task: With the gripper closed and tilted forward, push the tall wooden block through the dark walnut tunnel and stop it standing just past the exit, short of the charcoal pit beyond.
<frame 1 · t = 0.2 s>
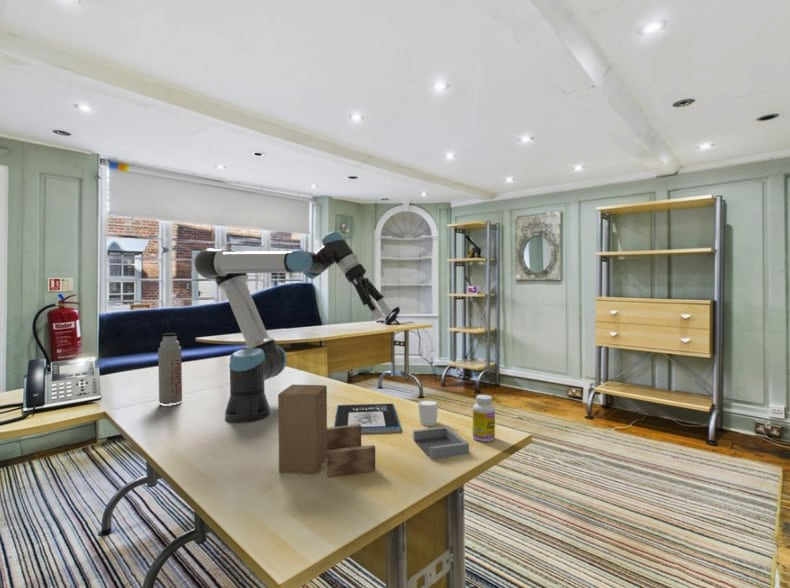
hand: (384, 315, 149), 36 cm above the table, tool tilted 35°, fingers open, 13 cm apart
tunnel: (345, 459, 110), on the table
white cup: (428, 423, 139), on the table
sketchbook: (366, 420, 144), on the table
wooden block: (304, 465, 107), on the table
thermos bottle: (170, 404, 162), on the table
pit: (437, 447, 118), on the table
supplement bottle: (483, 439, 125), on the table
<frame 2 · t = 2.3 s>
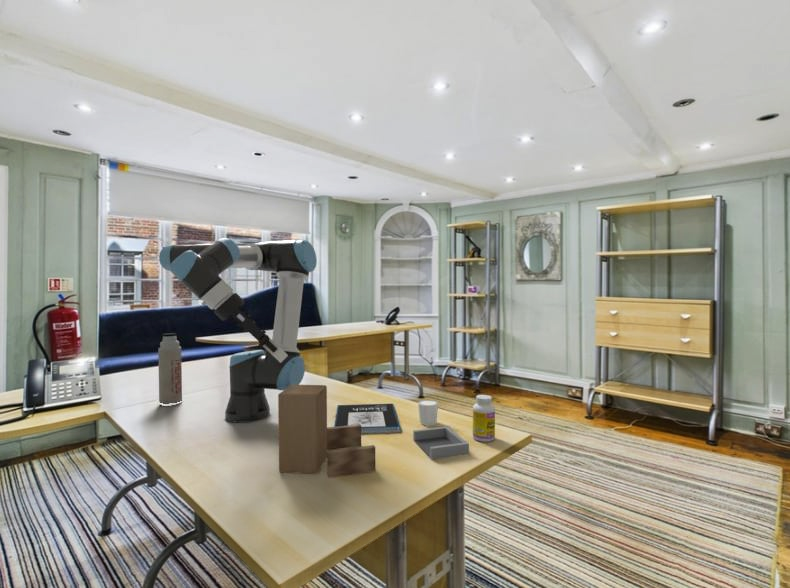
hand: (280, 355, 114), 27 cm above the table, tool tilted 45°, fingers open, 13 cm apart
nothing on the table moved.
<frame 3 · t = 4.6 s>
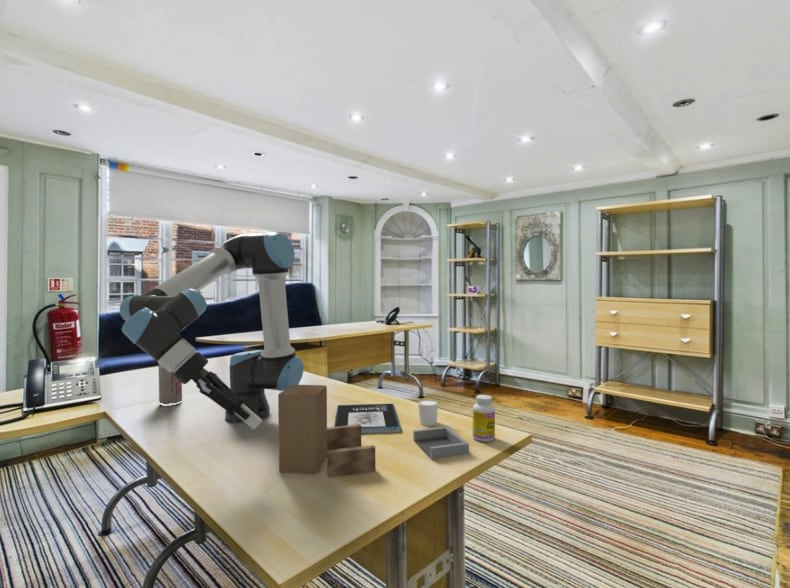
hand: (257, 424, 103), 12 cm above the table, tool tilted 45°, fingers closed
nothing on the table moved.
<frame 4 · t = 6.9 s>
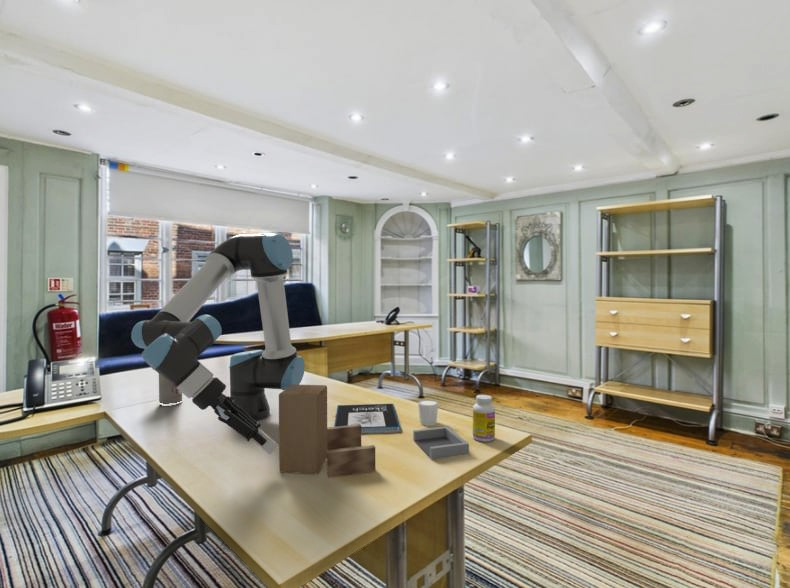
hand: (274, 449, 103), 5 cm above the table, tool tilted 45°, fingers closed
wooden block: (304, 465, 107), on the table, touching gripper
everything else where it was.
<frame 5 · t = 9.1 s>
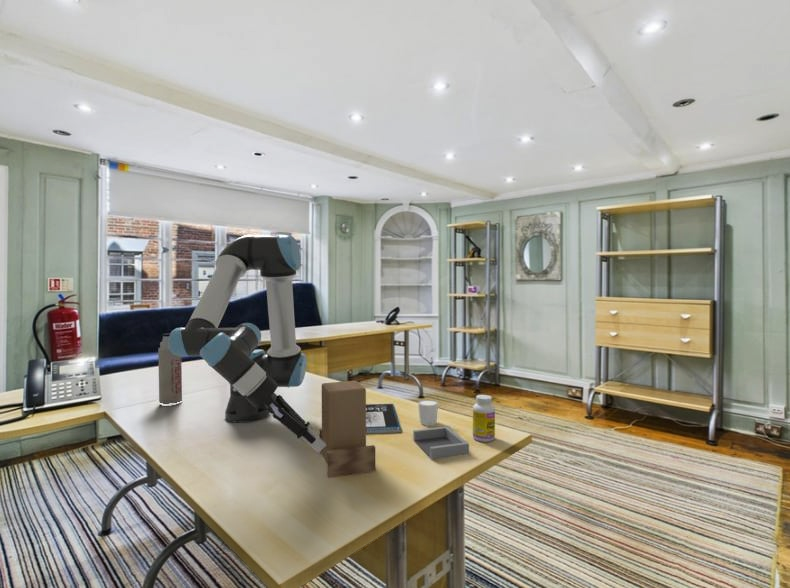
hand: (322, 448, 105), 5 cm above the table, tool tilted 45°, fingers closed
wooden block: (343, 459, 110), on the table, touching gripper
everything else where it was.
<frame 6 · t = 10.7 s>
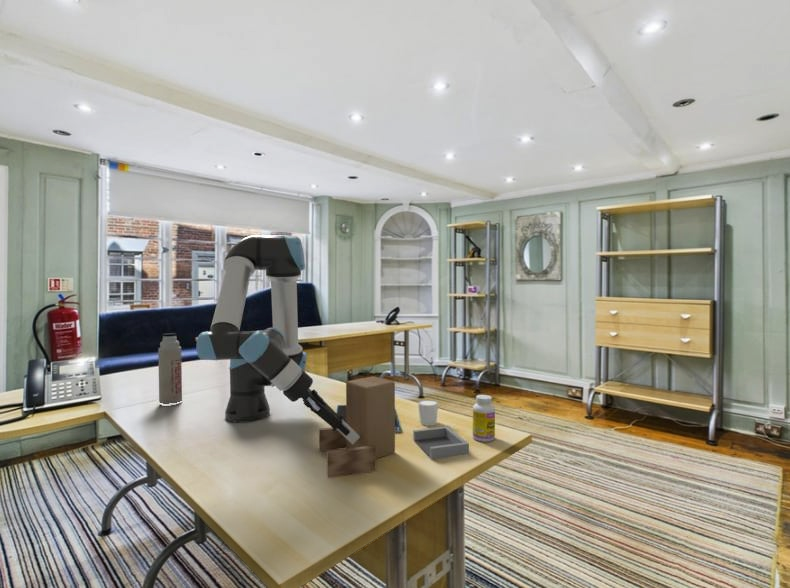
hand: (355, 439, 109), 6 cm above the table, tool tilted 45°, fingers closed
wooden block: (370, 452, 115), on the table, touching gripper
everything else where it was.
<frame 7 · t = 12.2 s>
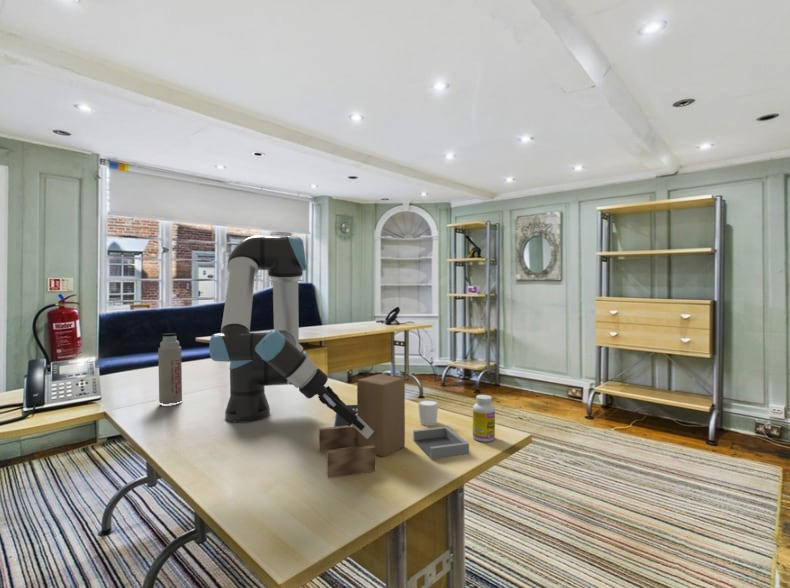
hand: (370, 434, 112), 6 cm above the table, tool tilted 45°, fingers closed
wooden block: (381, 448, 118), on the table, touching gripper
everything else where it was.
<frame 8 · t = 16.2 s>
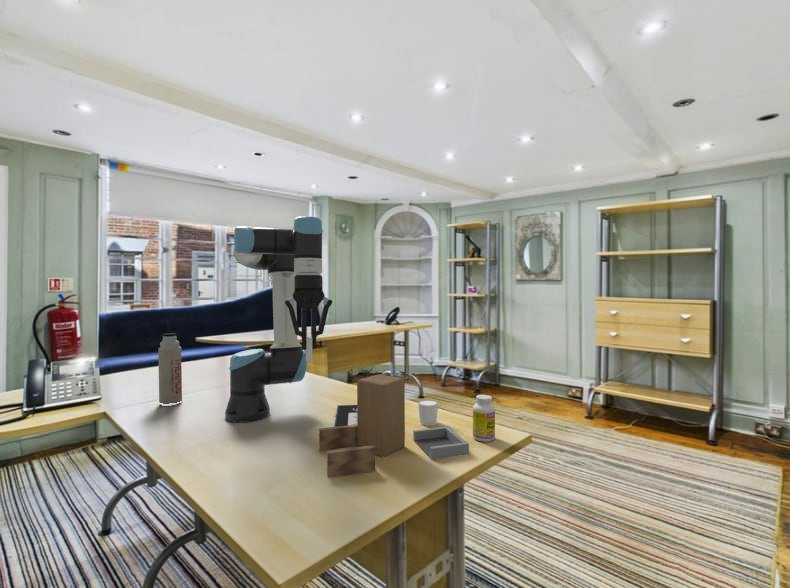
hand: (309, 360, 112), 26 cm above the table, tool pointing down, fingers closed
wooden block: (381, 448, 118), on the table
everything else where it was.
at the end: wooden block inside the target area (4.9 cm from its centre), on the table; wooden block tilted 0°; wooden block touching table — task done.
